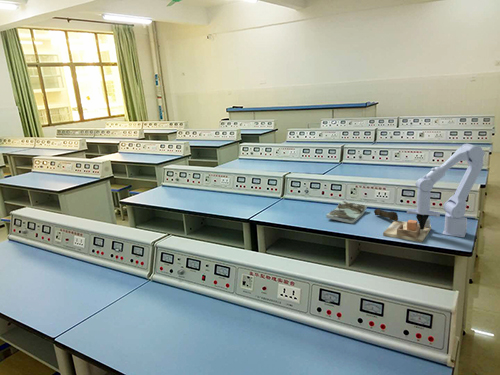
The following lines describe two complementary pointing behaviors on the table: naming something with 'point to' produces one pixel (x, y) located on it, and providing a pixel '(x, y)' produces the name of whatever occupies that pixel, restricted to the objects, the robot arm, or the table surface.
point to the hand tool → (386, 214)
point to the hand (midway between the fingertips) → (422, 228)
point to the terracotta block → (412, 225)
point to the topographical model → (347, 212)
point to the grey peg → (427, 223)
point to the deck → (406, 231)
